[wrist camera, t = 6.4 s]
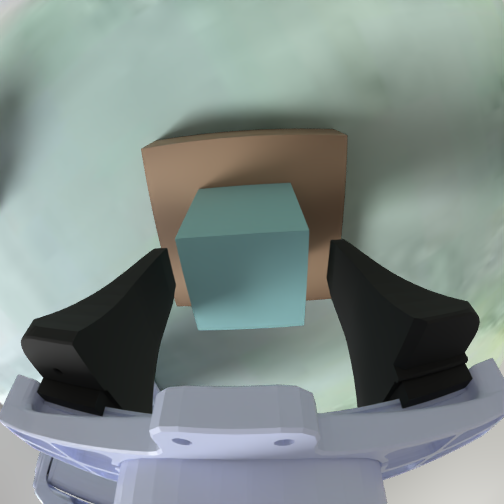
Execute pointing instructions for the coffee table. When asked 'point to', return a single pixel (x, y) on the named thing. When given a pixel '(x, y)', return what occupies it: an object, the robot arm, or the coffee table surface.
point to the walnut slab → (251, 173)
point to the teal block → (245, 257)
